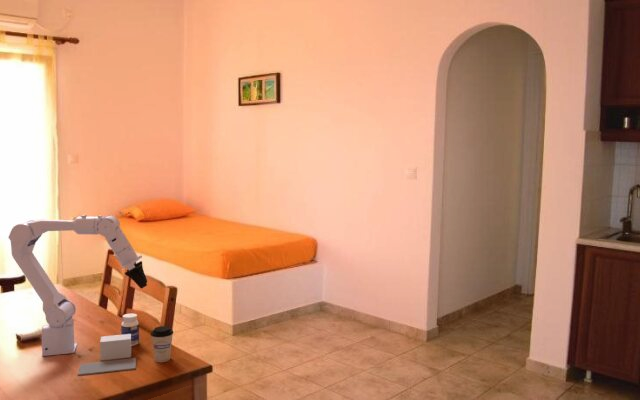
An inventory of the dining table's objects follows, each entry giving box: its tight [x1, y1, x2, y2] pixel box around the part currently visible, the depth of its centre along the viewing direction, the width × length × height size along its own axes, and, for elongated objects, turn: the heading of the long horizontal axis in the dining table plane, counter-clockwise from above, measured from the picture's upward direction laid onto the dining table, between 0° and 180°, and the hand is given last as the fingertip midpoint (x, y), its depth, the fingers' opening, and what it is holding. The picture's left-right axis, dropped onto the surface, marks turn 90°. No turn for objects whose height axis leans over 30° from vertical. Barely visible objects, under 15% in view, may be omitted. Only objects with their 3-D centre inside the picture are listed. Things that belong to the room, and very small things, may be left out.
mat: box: [77, 357, 137, 377], centre depth 163 cm, size 16×8×1 cm, turn 108°
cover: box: [99, 334, 132, 361], centre depth 172 cm, size 9×5×6 cm, turn 108°
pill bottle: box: [120, 313, 140, 347], centre depth 182 cm, size 6×6×10 cm
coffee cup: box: [150, 325, 174, 363], centre depth 169 cm, size 7×7×10 cm
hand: (144, 285), depth 177 cm, fingers open, 7 cm apart
